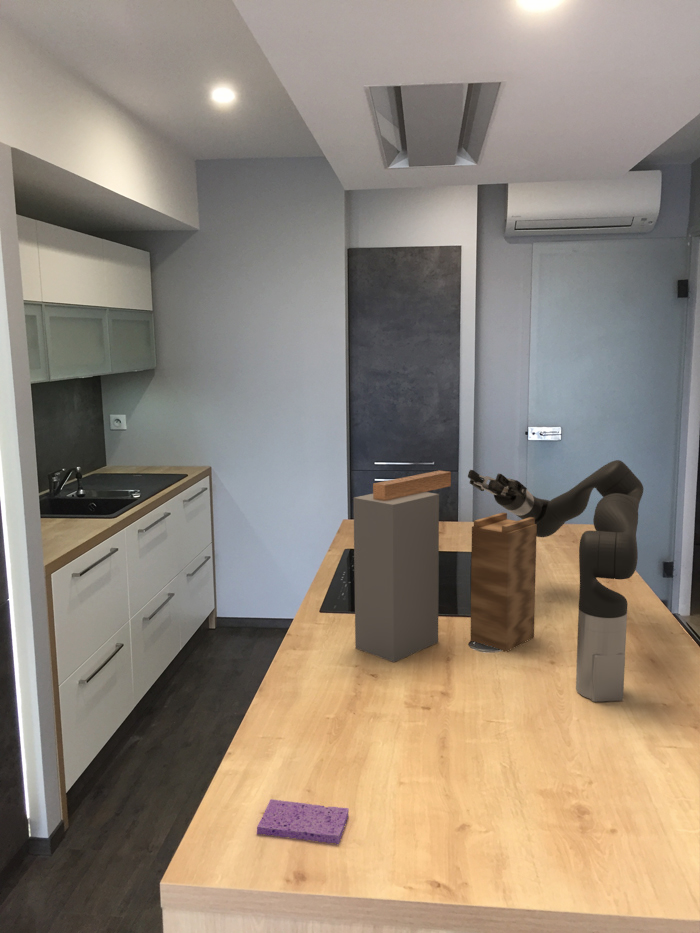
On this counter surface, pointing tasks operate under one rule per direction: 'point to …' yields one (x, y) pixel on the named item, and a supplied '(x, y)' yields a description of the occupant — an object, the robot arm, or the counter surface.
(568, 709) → the counter surface
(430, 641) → the stand
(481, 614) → the wood grain block
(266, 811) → the sponges
